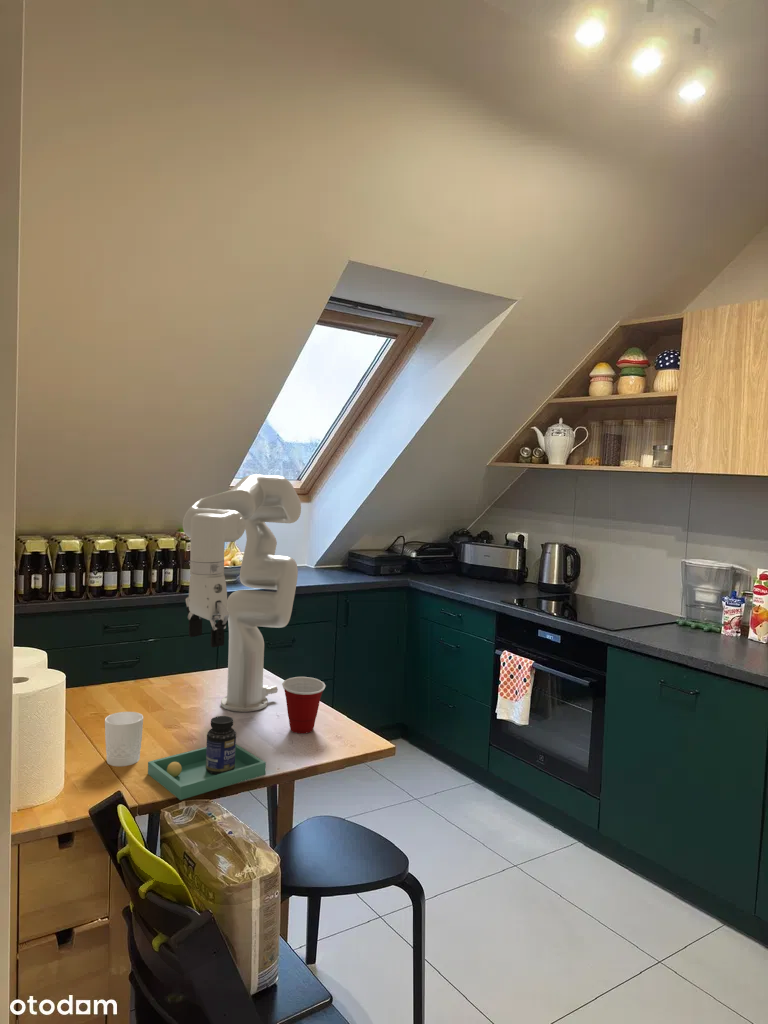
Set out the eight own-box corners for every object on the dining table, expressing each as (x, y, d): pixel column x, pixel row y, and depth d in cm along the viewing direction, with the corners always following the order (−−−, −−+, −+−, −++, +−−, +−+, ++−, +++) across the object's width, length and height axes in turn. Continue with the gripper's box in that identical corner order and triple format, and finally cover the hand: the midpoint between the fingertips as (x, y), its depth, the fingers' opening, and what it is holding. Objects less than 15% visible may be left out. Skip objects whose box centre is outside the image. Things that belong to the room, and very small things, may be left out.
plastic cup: (289, 740, 176) (291, 692, 175) (274, 725, 186) (276, 679, 185) (330, 734, 181) (332, 687, 180) (314, 719, 191) (315, 674, 190)
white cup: (110, 754, 163) (110, 711, 162) (146, 755, 164) (147, 711, 163) (99, 769, 155) (100, 724, 154) (137, 770, 156) (138, 724, 155)
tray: (229, 754, 166) (230, 740, 166) (265, 776, 156) (265, 762, 155) (147, 776, 153) (148, 761, 153) (180, 802, 142) (180, 786, 142)
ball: (177, 771, 155) (177, 758, 154) (184, 776, 152) (184, 763, 152) (164, 775, 153) (164, 761, 152) (170, 780, 150) (171, 766, 150)
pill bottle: (227, 777, 153) (229, 726, 152) (200, 773, 154) (202, 722, 154) (239, 765, 159) (241, 716, 158) (213, 762, 160) (214, 713, 160)
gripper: (242, 572, 162) (240, 647, 164) (202, 560, 174) (201, 629, 176) (212, 576, 157) (211, 653, 159) (173, 563, 169) (172, 635, 171)
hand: (206, 640), depth 168 cm, fingers open, 9 cm apart
